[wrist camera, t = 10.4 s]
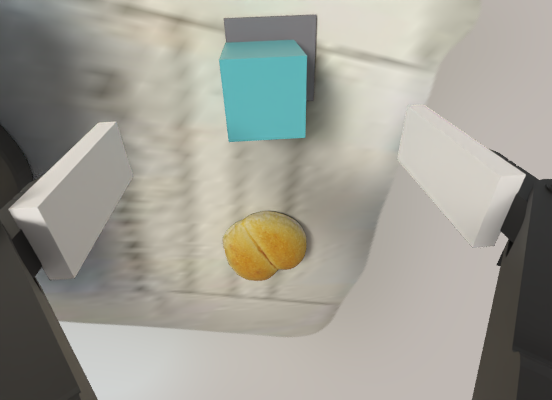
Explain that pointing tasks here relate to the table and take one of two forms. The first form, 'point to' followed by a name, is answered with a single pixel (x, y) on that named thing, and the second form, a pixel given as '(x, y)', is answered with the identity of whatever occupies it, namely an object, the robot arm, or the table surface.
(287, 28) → the panel
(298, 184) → the table surface
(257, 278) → the bread roll
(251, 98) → the teal toy brick
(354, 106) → the table surface
